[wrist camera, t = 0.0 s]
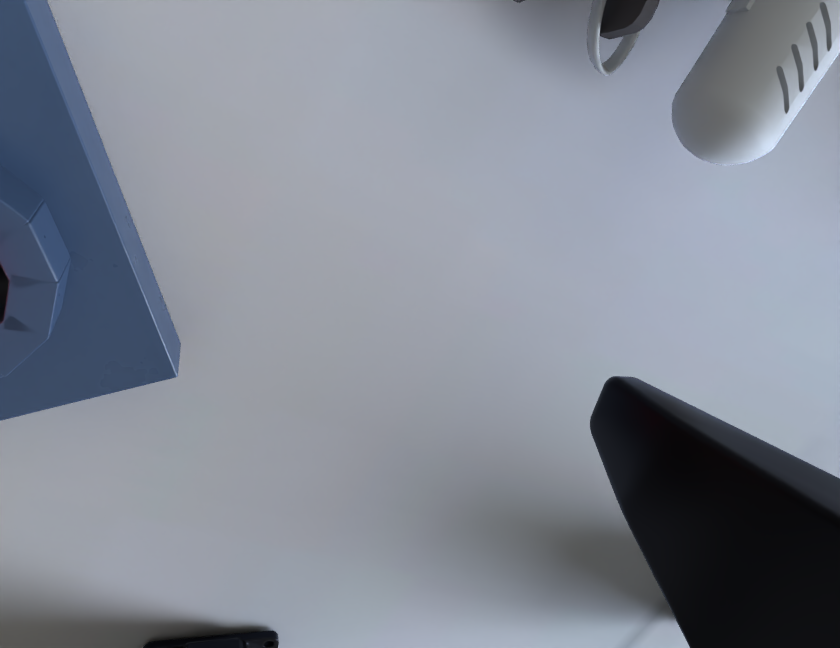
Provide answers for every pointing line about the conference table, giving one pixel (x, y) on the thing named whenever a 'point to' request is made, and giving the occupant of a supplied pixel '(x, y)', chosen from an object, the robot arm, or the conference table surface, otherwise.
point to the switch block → (66, 239)
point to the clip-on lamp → (735, 70)
